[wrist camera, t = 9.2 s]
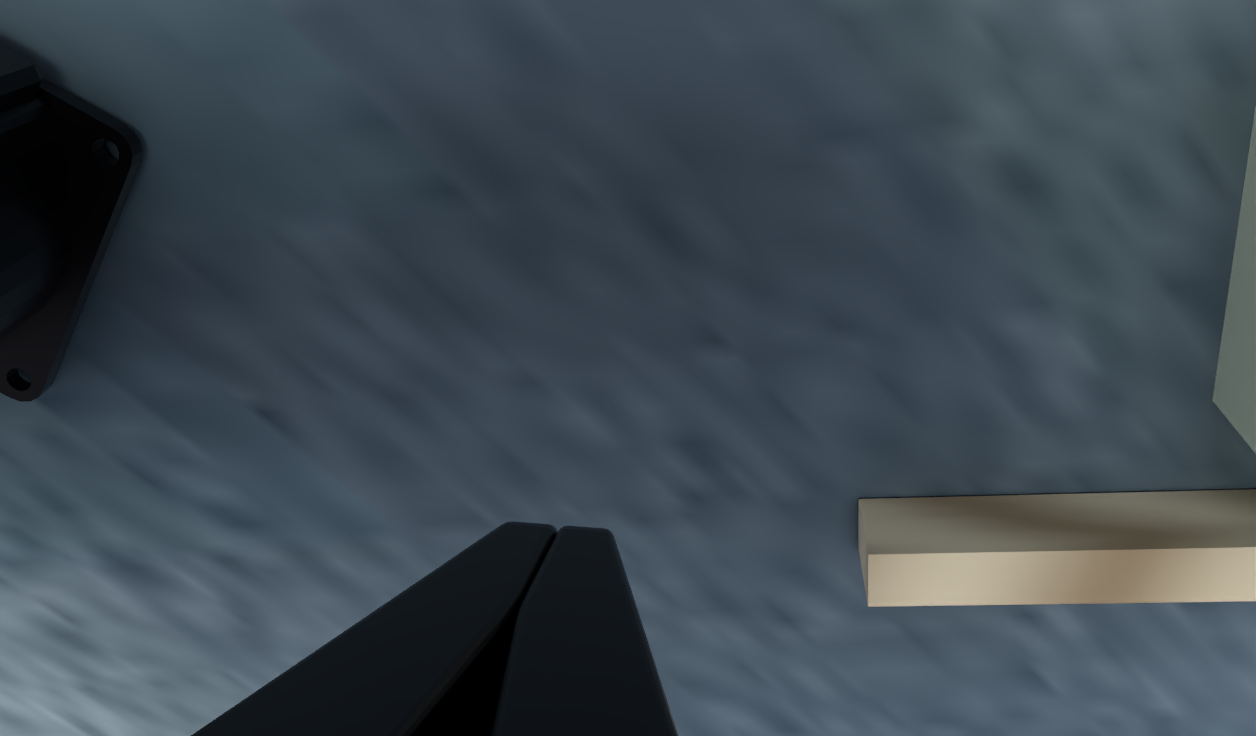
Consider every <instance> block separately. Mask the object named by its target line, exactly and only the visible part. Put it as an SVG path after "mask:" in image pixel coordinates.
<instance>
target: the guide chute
mask: <svg viewBox="0 0 1256 736" xmlns="http://www.w3.org/2000/svg"><path fill="white" fill-rule="evenodd" d="M858 549H859V555H860V561H861V567H862V573H863V579H864V585H865V591H866V597H867V603H868V607H882V606H952V605H1022V604H1093V603H1163V602H1233V601H1256V489H1247V490H1206V491H1165V492H1124V493H1083V494H1042V495H1002V496H961V497H920V498H879V499H859V517H858Z"/></svg>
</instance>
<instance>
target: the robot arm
mask: <svg viewBox="0 0 1256 736" xmlns="http://www.w3.org/2000/svg"><path fill="white" fill-rule="evenodd" d="M104 139H107V140H110V141H112V142H113V143H114V144H115V145H116V146H117V148H118V151H119V160H115V159H112V158H111V157H110V156H108V155H107V154H106V152H105V150H104V148H103V140H104ZM141 158H142V147H141V142H140V140H139V138H138V137H137V135H136V134H135V132H134V131H133V130H132V129H131V128H129V127H128V126H127V125H126V124H124V123H122V122H120V121H119V120H117V119H115V118H113V117H111V116H110V115H108V114H106V113H104V112H103V111H101V110H99V109H97V108H95V107H94V106H92V105H90V104H88V103H87V102H85V101H83V100H81V99H79V98H78V97H76V96H74V95H72V94H71V93H69V92H67V91H65V90H63V89H62V88H60V87H58V86H56V85H55V84H53V83H51V82H49V81H47V80H46V79H44V78H43V77H42V75H41V73H40V72H39V70H38V69H37V67H36V65H35V64H34V63H33V62H32V61H31V60H29V59H27V58H25V57H23V56H22V55H20V54H18V53H16V52H15V51H13V50H11V49H9V48H7V47H6V46H4V45H2V44H0V393H2V394H4V395H6V396H8V397H10V398H12V399H15V400H18V401H32V400H34V399H36V398H38V397H39V396H40V395H41V394H43V393H44V392H45V391H46V390H47V389H48V388H49V387H50V386H51V384H52V383H53V380H54V378H55V375H56V373H57V370H58V368H59V365H60V363H61V360H62V358H63V355H64V352H65V350H66V347H67V345H68V342H69V340H70V337H71V335H72V332H73V330H74V327H75V325H76V322H77V320H78V317H79V315H80V312H81V310H82V307H83V305H84V302H85V300H86V297H87V295H88V292H89V290H90V287H91V285H92V282H93V280H94V277H95V275H96V272H97V270H98V267H99V265H100V262H101V260H102V257H103V255H104V252H105V250H106V247H107V245H108V242H109V240H110V237H111V235H112V232H113V230H114V227H115V225H116V222H117V220H118V217H119V215H120V212H121V210H122V207H123V205H124V202H125V200H126V197H127V195H128V192H129V190H130V187H131V184H132V182H133V179H134V177H135V174H136V172H137V169H138V167H139V164H140V162H141ZM18 369H21V370H23V371H24V372H26V373H27V374H28V375H29V377H30V379H31V382H28V381H25V380H24V379H23V378H22V377H20V375H19V373H18ZM191 736H678V734H677V730H676V727H675V724H674V721H673V718H672V715H671V712H670V709H669V706H668V703H667V699H666V696H665V693H664V690H663V687H662V684H661V681H660V678H659V675H658V672H657V668H656V665H655V662H654V659H653V656H652V653H651V650H650V647H649V644H648V641H647V637H646V634H645V631H644V628H643V625H642V622H641V619H640V616H639V613H638V610H637V607H636V603H635V600H634V597H633V594H632V591H631V588H630V585H629V582H628V579H627V576H626V572H625V569H624V566H623V563H622V560H621V557H620V554H619V551H618V548H617V545H616V541H615V538H614V536H613V534H612V533H611V531H609V530H608V529H604V528H591V527H577V526H564V527H562V528H560V530H559V531H557V529H556V528H555V527H554V526H553V525H549V524H537V523H525V522H506V523H504V524H502V525H500V526H499V527H497V528H496V529H495V530H493V531H492V532H490V533H489V534H487V535H486V536H484V537H483V538H481V539H480V540H478V541H477V542H475V543H474V544H472V545H471V546H470V547H468V548H467V549H465V550H464V551H462V552H461V553H459V554H458V555H456V556H455V557H453V558H452V559H450V560H449V561H447V562H446V563H444V564H443V565H442V566H440V567H439V568H437V569H436V570H434V571H433V572H431V573H430V574H428V575H427V576H425V577H424V578H422V579H421V580H419V581H418V582H416V583H415V584H414V585H412V586H411V587H409V588H408V589H406V590H405V591H403V592H402V593H400V594H399V595H397V596H396V597H394V598H393V599H391V600H390V601H389V602H387V603H386V604H384V605H383V606H381V607H380V608H378V609H377V610H375V611H374V612H372V613H371V614H369V615H368V616H366V617H365V618H363V619H362V620H361V621H359V622H358V623H356V624H355V625H353V626H352V627H350V628H349V629H347V630H346V631H344V632H343V633H341V634H340V635H338V636H337V637H336V638H334V639H333V640H331V641H330V642H328V643H327V644H325V645H324V646H322V647H321V648H319V649H318V650H316V651H315V652H313V653H312V654H310V655H309V656H308V657H306V658H305V659H303V660H302V661H300V662H299V663H297V664H296V665H294V666H293V667H291V668H290V669H288V670H287V671H285V672H284V673H283V674H281V675H280V676H278V677H277V678H275V679H274V680H272V681H271V682H269V683H268V684H266V685H265V686H263V687H262V688H260V689H259V690H257V691H256V692H255V693H253V694H252V695H250V696H249V697H247V698H246V699H244V700H243V701H241V702H240V703H238V704H237V705H235V706H234V707H232V708H231V709H230V710H228V711H227V712H225V713H224V714H222V715H221V716H219V717H218V718H216V719H215V720H213V721H212V722H210V723H209V724H207V725H206V726H204V727H203V728H202V729H200V730H199V731H197V732H196V733H194V734H193V735H191Z"/></svg>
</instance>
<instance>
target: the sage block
mask: <svg viewBox="0 0 1256 736" xmlns="http://www.w3.org/2000/svg"><path fill="white" fill-rule="evenodd" d="M1212 401H1213V402H1214V403H1215V405H1216V406H1217V407H1218V408H1219V409H1220V411H1221V412H1222V413H1223V414H1224V416H1225V417H1226V418H1227V419H1228V420H1229V422H1230V423H1231V424H1232V425H1233V427H1234V428H1235V429H1236V430H1237V432H1238V433H1239V434H1240V435H1241V436H1242V438H1243V439H1244V440H1245V441H1246V443H1247V444H1248V445H1249V446H1250V448H1251V449H1252V450H1253V451H1254V452H1255V454H1256V106H1255V113H1254V120H1253V127H1252V133H1251V140H1250V147H1249V154H1248V161H1247V168H1246V174H1245V181H1244V188H1243V195H1242V202H1241V208H1240V215H1239V222H1238V229H1237V236H1236V243H1235V249H1234V256H1233V263H1232V270H1231V277H1230V283H1229V290H1228V297H1227V304H1226V311H1225V318H1224V324H1223V331H1222V338H1221V345H1220V352H1219V358H1218V365H1217V372H1216V379H1215V386H1214V393H1213V399H1212Z"/></svg>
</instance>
